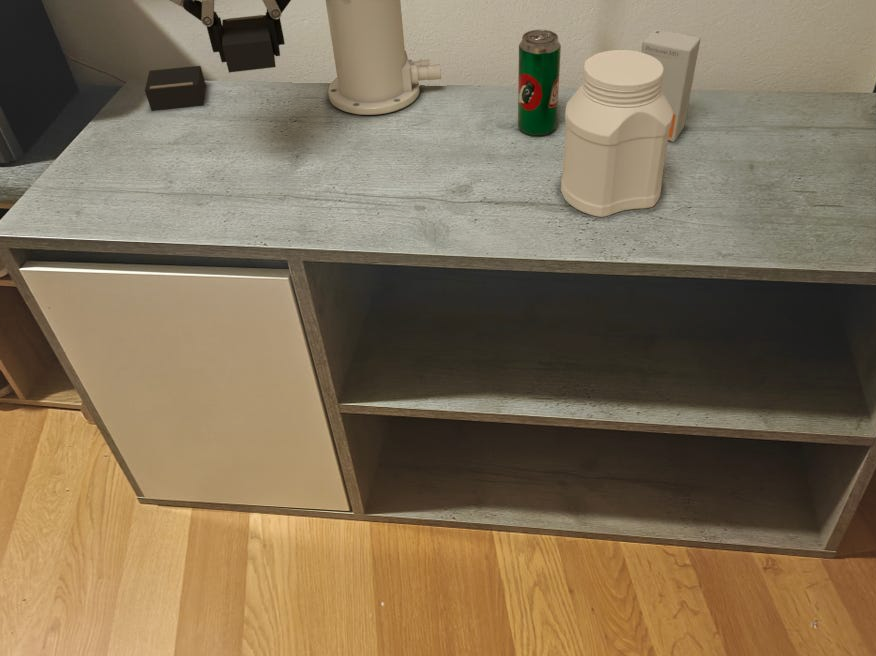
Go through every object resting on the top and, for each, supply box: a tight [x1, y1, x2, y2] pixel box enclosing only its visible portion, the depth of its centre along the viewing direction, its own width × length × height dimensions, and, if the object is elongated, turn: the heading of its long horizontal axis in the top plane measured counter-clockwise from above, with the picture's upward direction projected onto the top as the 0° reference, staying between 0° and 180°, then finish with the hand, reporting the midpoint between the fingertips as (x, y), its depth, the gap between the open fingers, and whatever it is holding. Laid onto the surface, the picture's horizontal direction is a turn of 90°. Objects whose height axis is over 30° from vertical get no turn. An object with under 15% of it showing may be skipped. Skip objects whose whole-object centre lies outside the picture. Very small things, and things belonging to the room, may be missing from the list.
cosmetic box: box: [640, 28, 701, 143], centre depth 99 cm, size 6×4×12 cm
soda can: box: [517, 29, 562, 137], centre depth 100 cm, size 5×5×12 cm
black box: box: [221, 14, 277, 74], centre depth 88 cm, size 5×7×3 cm
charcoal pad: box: [144, 65, 207, 112], centre depth 112 cm, size 7×6×3 cm
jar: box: [560, 49, 673, 218], centre depth 89 cm, size 12×10×15 cm
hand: (250, 52), depth 89 cm, fingers closed on black box, 5 cm apart
